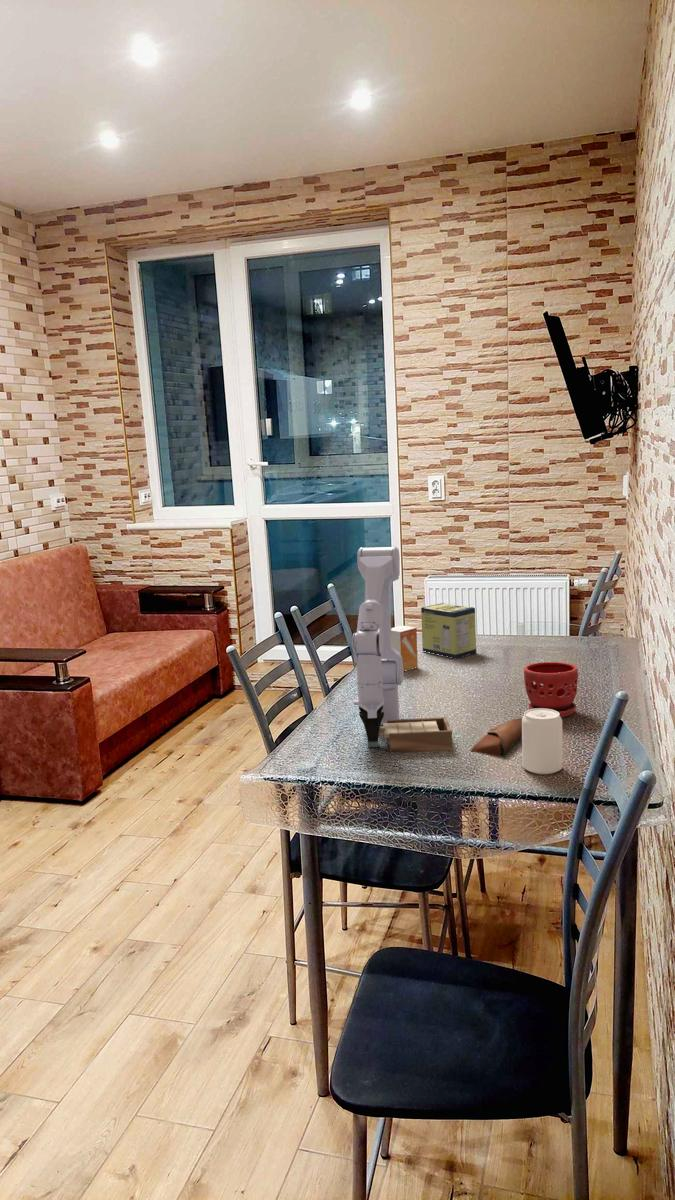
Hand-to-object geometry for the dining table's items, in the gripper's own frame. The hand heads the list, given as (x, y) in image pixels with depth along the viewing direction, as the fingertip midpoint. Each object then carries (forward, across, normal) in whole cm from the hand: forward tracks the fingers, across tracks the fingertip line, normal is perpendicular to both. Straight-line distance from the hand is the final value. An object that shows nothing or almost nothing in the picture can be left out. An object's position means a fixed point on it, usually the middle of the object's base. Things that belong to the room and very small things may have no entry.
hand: (372, 738), depth 185 cm
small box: (+2, -67, +12) cm, 68 cm away
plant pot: (+2, -18, +46) cm, 49 cm away
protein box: (+2, -85, +29) cm, 90 cm away
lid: (+2, 0, +7) cm, 7 cm away
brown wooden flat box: (+2, 0, +11) cm, 11 cm away
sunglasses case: (+2, +1, +29) cm, 30 cm away
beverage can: (+2, +18, +35) cm, 39 cm away
